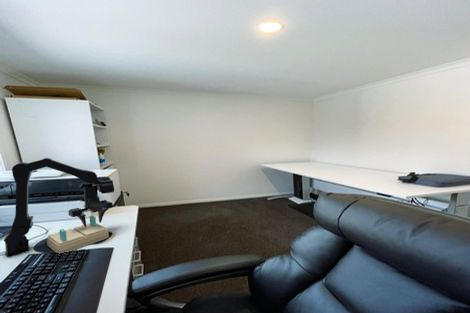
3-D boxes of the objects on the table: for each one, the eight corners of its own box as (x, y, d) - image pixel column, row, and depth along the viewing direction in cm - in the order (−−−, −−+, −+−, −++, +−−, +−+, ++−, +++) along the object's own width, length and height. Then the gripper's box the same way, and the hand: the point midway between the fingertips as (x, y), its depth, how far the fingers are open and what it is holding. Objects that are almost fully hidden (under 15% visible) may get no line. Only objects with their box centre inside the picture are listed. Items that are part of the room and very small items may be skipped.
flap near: (59, 244, 91) (58, 233, 90) (48, 236, 99) (47, 225, 99) (84, 236, 98) (83, 226, 98) (71, 229, 107) (71, 219, 106)
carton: (59, 255, 90) (58, 246, 90) (47, 245, 99) (46, 237, 99) (108, 237, 107) (108, 229, 106) (94, 230, 116) (94, 223, 116)
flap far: (86, 236, 99) (85, 225, 99) (73, 229, 107) (73, 219, 107) (106, 229, 106) (106, 219, 106) (93, 223, 115) (93, 214, 114)
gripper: (76, 201, 97) (78, 234, 98) (117, 193, 113) (118, 222, 114) (67, 198, 103) (69, 229, 105) (107, 191, 119) (108, 218, 120)
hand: (92, 224), depth 110 cm, fingers open, 7 cm apart
